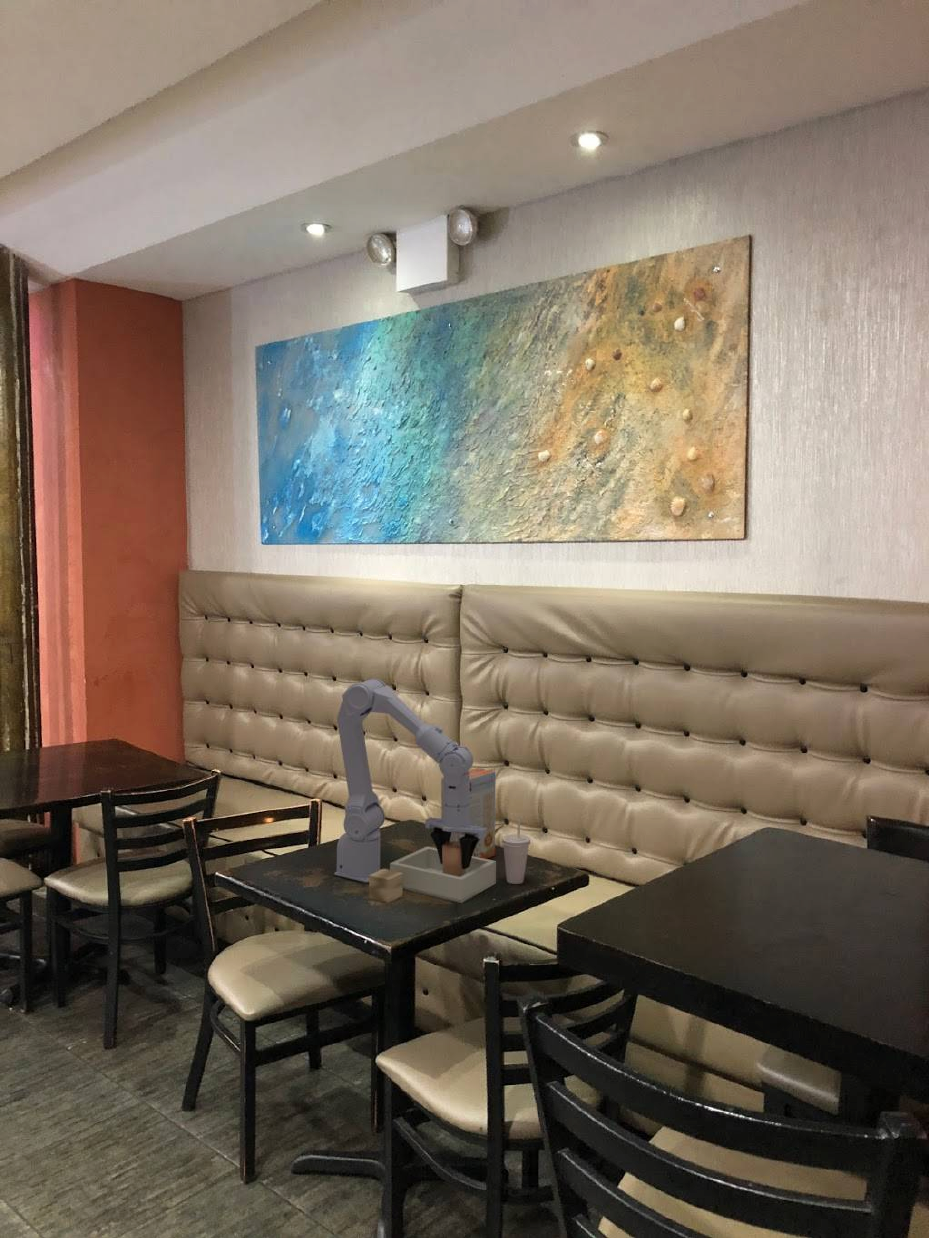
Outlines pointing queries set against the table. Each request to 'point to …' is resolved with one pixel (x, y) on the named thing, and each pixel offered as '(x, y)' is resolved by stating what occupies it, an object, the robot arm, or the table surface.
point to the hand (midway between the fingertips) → (454, 865)
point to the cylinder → (452, 859)
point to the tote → (444, 876)
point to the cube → (385, 885)
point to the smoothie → (515, 856)
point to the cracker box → (480, 809)
